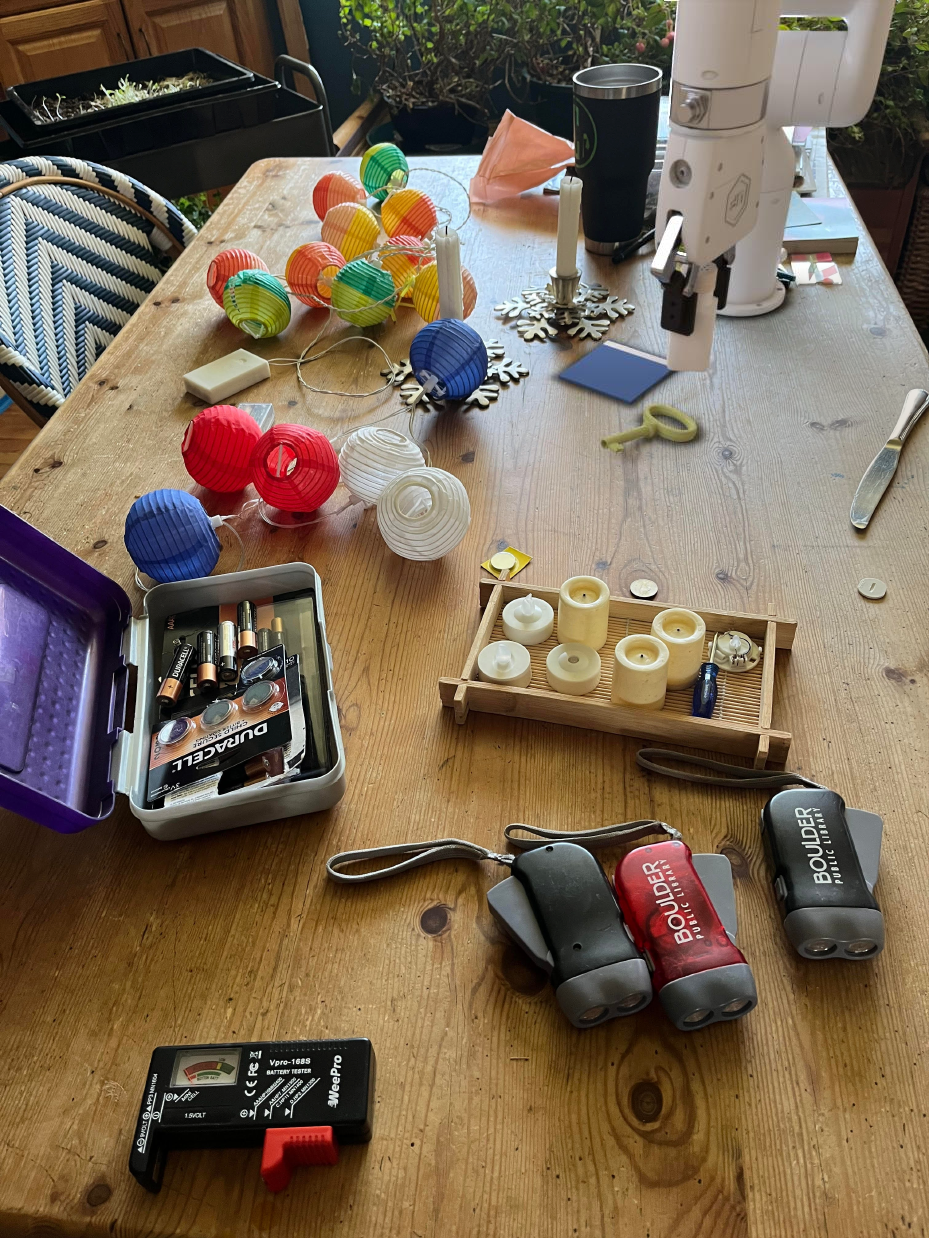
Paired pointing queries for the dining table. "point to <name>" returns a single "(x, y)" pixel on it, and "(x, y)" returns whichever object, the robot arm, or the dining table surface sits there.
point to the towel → (618, 371)
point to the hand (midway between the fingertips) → (693, 316)
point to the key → (653, 428)
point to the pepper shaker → (696, 326)
